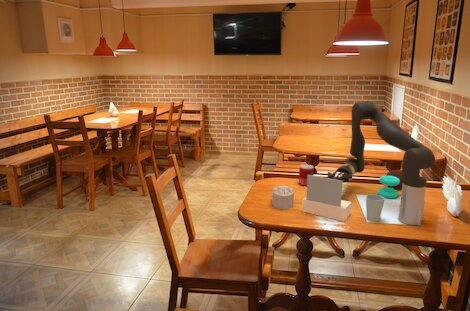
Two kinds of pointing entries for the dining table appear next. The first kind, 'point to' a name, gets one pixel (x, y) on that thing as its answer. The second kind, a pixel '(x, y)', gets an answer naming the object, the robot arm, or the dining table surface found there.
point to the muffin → (399, 175)
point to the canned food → (305, 174)
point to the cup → (374, 207)
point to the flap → (324, 190)
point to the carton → (327, 209)
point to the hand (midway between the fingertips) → (333, 181)
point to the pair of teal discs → (389, 182)
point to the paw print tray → (283, 197)
